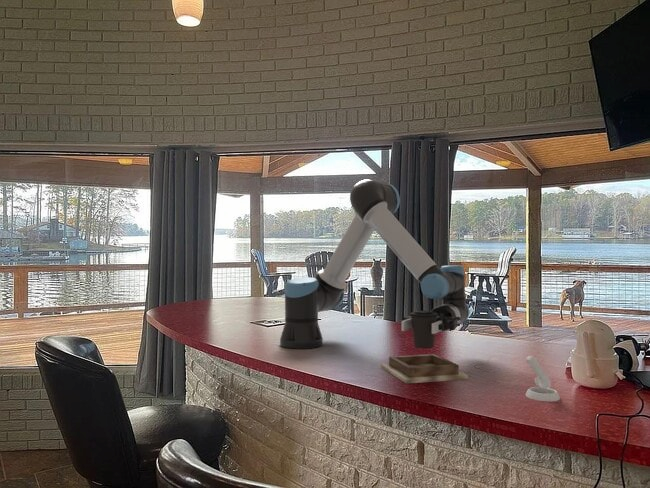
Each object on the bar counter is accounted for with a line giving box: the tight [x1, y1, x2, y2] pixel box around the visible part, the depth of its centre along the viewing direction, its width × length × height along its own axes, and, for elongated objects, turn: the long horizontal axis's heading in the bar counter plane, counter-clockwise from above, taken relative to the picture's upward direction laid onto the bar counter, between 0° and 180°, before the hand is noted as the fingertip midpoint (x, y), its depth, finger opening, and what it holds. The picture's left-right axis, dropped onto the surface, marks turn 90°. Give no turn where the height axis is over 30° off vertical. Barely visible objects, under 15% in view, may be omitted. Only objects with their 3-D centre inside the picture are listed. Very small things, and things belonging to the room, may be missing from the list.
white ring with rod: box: [525, 355, 561, 403], centre depth 130 cm, size 8×12×7 cm
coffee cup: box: [409, 310, 439, 349], centre depth 153 cm, size 8×8×10 cm
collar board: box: [380, 353, 469, 384], centre depth 153 cm, size 18×18×4 cm
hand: (417, 327), depth 149 cm, fingers closed on coffee cup, 8 cm apart
